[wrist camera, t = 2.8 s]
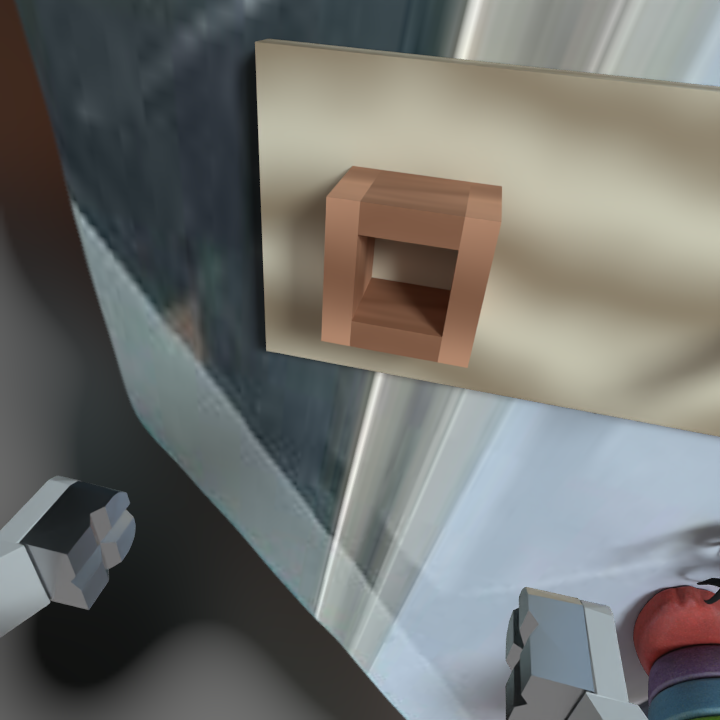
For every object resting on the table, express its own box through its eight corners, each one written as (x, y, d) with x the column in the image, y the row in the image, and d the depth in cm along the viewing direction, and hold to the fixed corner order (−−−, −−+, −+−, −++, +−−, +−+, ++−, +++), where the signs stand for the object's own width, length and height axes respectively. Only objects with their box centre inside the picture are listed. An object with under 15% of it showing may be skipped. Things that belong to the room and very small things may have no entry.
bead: (352, 165, 22) (326, 196, 19) (502, 186, 21) (501, 222, 18) (344, 296, 25) (321, 340, 22) (472, 318, 25) (467, 367, 21)
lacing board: (269, 38, 21) (136, 67, 14) (1163, 134, 17) (1687, 251, 10) (276, 335, 29) (195, 458, 22) (885, 448, 25) (1048, 647, 18)
